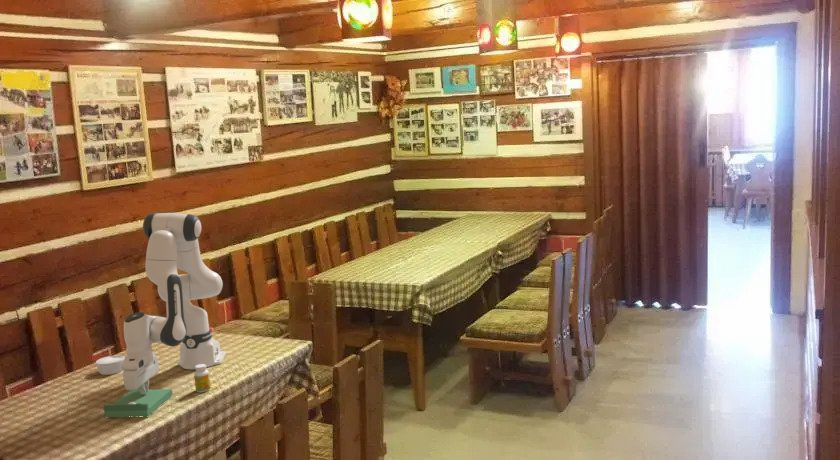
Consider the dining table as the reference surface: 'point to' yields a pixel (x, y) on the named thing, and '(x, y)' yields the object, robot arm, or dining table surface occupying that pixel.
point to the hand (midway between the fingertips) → (144, 393)
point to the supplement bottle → (201, 378)
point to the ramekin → (110, 365)
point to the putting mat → (138, 403)
